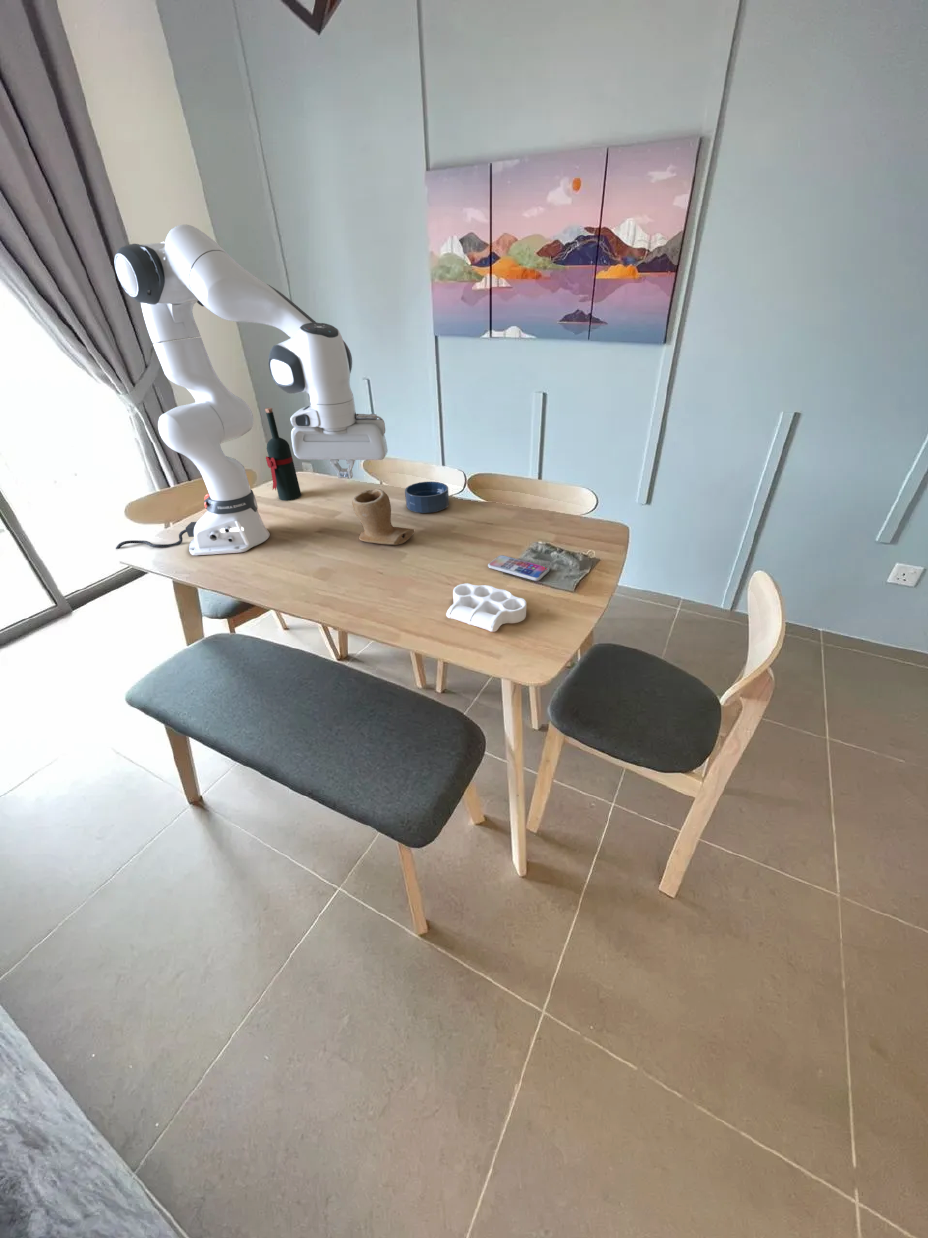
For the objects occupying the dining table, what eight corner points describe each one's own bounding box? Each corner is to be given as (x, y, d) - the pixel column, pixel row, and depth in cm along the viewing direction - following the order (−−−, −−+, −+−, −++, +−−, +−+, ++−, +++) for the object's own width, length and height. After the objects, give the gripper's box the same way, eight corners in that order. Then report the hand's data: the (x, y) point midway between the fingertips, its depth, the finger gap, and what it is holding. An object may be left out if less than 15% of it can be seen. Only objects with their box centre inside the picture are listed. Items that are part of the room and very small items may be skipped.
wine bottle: (269, 500, 175) (244, 411, 158) (290, 491, 182) (269, 404, 165) (285, 504, 172) (261, 413, 155) (306, 494, 179) (286, 406, 162)
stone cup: (350, 546, 142) (341, 496, 134) (372, 529, 151) (364, 482, 143) (396, 553, 137) (390, 502, 129) (416, 536, 146) (411, 487, 138)
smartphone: (500, 553, 133) (551, 567, 126) (500, 557, 133) (550, 570, 126) (486, 564, 128) (538, 579, 121) (486, 568, 128) (538, 582, 121)
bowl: (411, 517, 158) (409, 499, 155) (403, 501, 170) (401, 484, 166) (453, 510, 161) (452, 493, 158) (443, 496, 173) (442, 479, 169)
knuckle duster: (434, 617, 111) (468, 587, 121) (506, 640, 103) (535, 606, 113) (433, 604, 109) (467, 575, 119) (506, 627, 101) (536, 594, 111)
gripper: (386, 409, 104) (393, 472, 113) (292, 409, 106) (306, 471, 114) (380, 418, 100) (388, 483, 108) (282, 418, 101) (297, 482, 110)
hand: (345, 477), depth 111 cm, fingers closed
